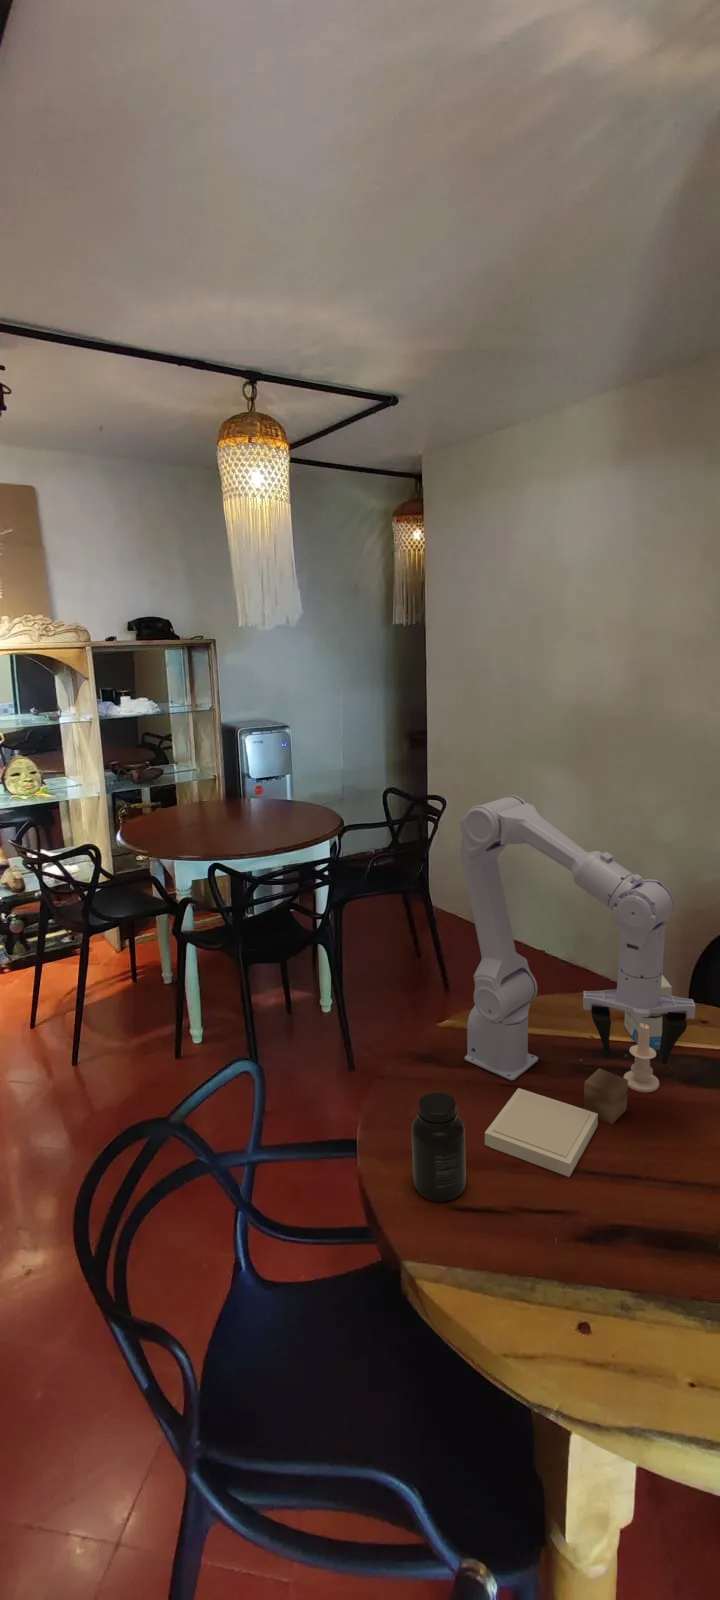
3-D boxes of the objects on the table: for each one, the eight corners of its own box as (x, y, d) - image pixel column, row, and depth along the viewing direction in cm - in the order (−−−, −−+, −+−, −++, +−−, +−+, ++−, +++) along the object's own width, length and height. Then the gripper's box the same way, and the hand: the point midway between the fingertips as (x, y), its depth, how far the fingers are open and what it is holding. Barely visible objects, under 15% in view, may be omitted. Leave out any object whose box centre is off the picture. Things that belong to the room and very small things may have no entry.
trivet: (484, 1145, 106) (484, 1131, 105) (518, 1099, 115) (518, 1086, 115) (569, 1177, 99) (569, 1162, 99) (597, 1126, 109) (598, 1112, 108)
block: (583, 1111, 112) (584, 1081, 111) (598, 1097, 115) (599, 1068, 114) (612, 1124, 109) (613, 1093, 108) (626, 1109, 112) (627, 1079, 111)
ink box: (669, 1050, 127) (673, 986, 124) (639, 1051, 127) (643, 987, 124) (651, 1024, 135) (654, 963, 132) (623, 1025, 135) (626, 963, 132)
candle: (653, 1073, 121) (657, 1013, 118) (663, 1093, 116) (667, 1031, 113) (619, 1072, 121) (622, 1013, 119) (627, 1092, 116) (631, 1030, 114)
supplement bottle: (470, 1171, 101) (470, 1091, 98) (459, 1208, 95) (459, 1124, 92) (420, 1161, 103) (418, 1083, 100) (406, 1197, 97) (404, 1114, 94)
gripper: (586, 978, 102) (582, 1068, 105) (702, 986, 99) (694, 1079, 102) (583, 955, 109) (580, 1040, 112) (692, 963, 106) (685, 1050, 109)
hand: (634, 1057), depth 108 cm, fingers open, 7 cm apart
